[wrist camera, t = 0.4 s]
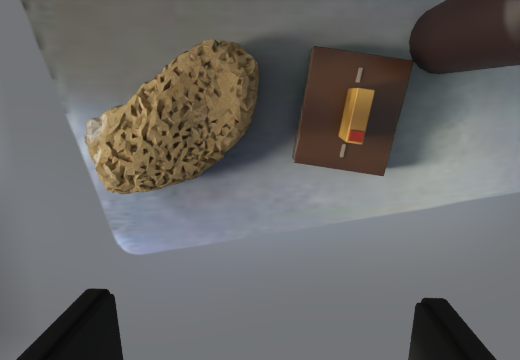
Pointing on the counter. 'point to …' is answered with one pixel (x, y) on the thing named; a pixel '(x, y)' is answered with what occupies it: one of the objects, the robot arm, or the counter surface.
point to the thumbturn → (356, 115)
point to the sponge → (176, 120)
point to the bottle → (467, 36)
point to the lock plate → (333, 102)
